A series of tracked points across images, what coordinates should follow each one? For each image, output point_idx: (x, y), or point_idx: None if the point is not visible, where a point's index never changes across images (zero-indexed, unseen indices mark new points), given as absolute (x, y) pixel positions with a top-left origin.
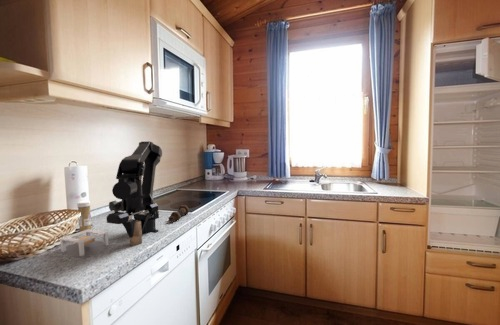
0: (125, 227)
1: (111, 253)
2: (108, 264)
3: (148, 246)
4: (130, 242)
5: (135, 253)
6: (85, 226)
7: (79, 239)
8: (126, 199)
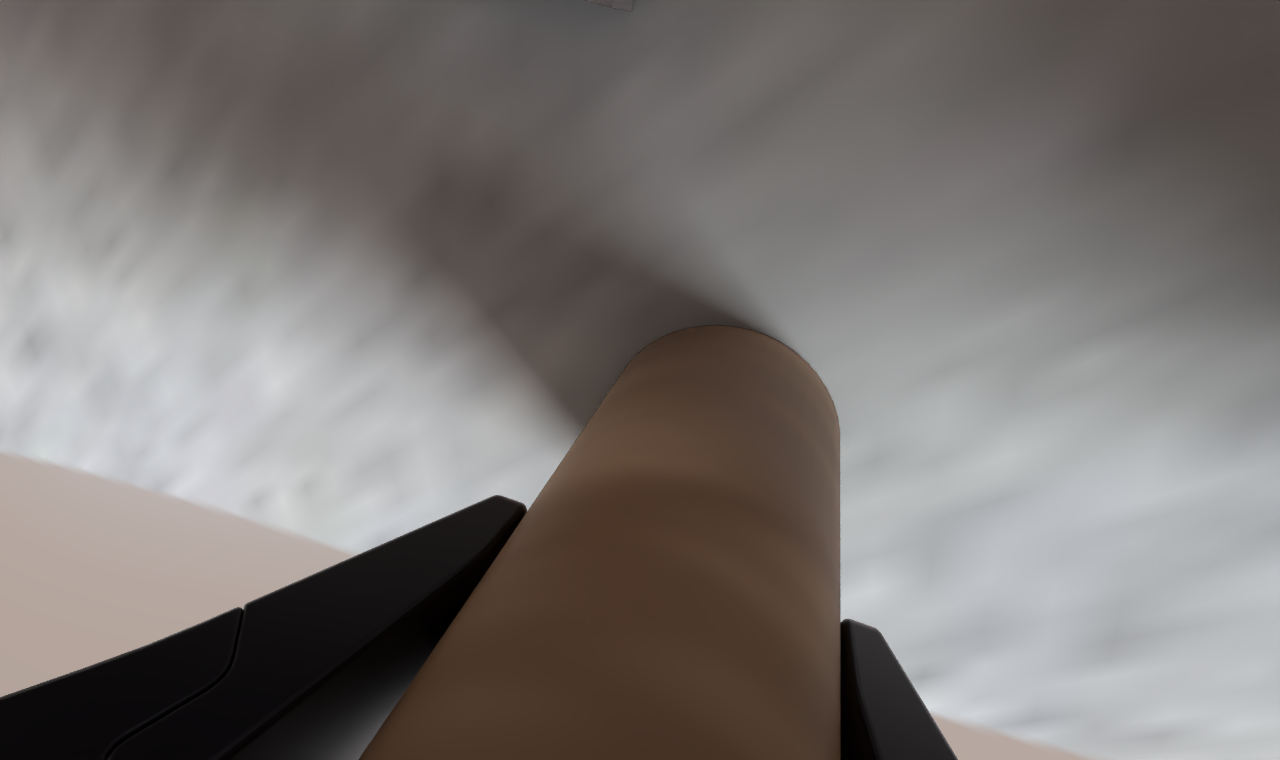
0: (147, 683)
1: (331, 121)
2: (65, 336)
3: None
4: (591, 417)
5: None
6: None
7: None
8: None
